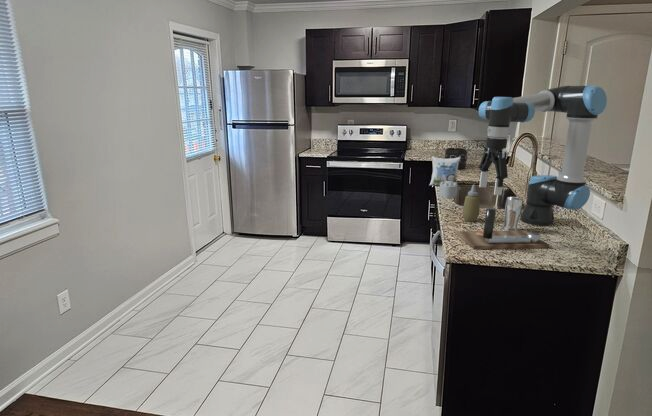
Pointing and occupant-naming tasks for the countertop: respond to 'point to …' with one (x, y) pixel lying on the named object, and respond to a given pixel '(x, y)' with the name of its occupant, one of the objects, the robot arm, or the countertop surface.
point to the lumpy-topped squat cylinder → (448, 189)
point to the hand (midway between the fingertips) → (489, 190)
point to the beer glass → (512, 213)
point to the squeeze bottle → (471, 205)
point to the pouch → (444, 170)
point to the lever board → (478, 242)
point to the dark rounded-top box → (455, 154)
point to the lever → (504, 239)
